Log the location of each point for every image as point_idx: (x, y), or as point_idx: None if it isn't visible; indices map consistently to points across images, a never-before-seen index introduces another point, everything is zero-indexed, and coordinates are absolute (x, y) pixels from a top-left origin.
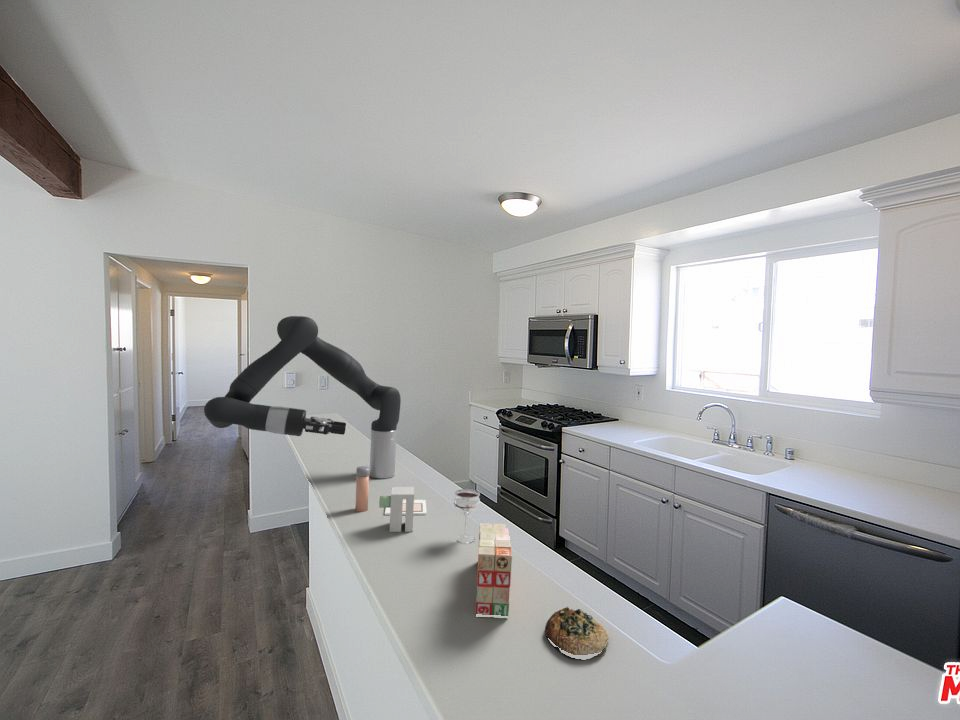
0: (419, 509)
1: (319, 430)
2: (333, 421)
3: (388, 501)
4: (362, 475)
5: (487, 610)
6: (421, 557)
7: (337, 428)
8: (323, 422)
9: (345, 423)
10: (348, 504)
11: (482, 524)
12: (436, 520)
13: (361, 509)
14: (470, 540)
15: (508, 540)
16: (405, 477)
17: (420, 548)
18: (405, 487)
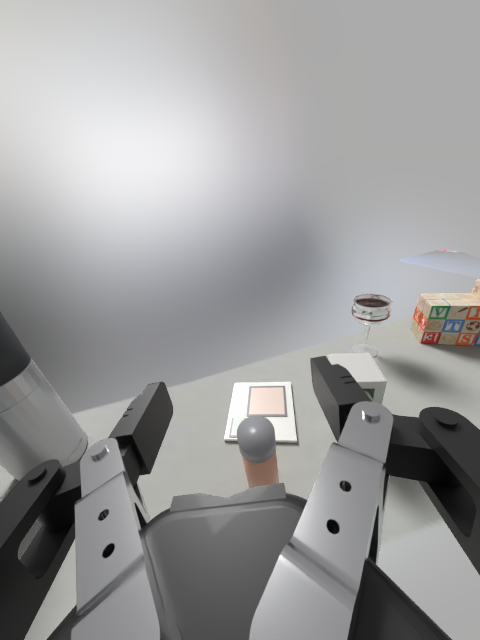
0: (277, 389)
1: (375, 550)
2: (131, 434)
3: (372, 399)
4: (275, 441)
5: None
6: (447, 389)
7: (357, 385)
8: (380, 459)
9: (163, 382)
10: None
11: (435, 304)
12: (310, 373)
13: None
14: (369, 346)
15: None
16: (104, 412)
17: (417, 390)
18: (333, 364)
